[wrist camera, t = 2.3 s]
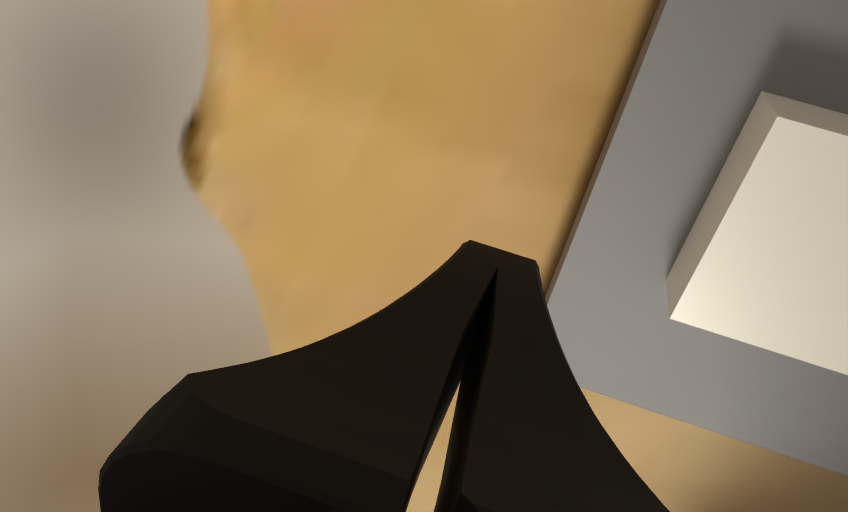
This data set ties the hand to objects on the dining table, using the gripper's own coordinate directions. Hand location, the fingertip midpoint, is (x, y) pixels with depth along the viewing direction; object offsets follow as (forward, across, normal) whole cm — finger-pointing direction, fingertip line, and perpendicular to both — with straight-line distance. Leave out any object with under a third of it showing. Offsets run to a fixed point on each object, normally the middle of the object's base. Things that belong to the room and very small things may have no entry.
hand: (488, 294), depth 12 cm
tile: (+7, -9, 0) cm, 11 cm away
